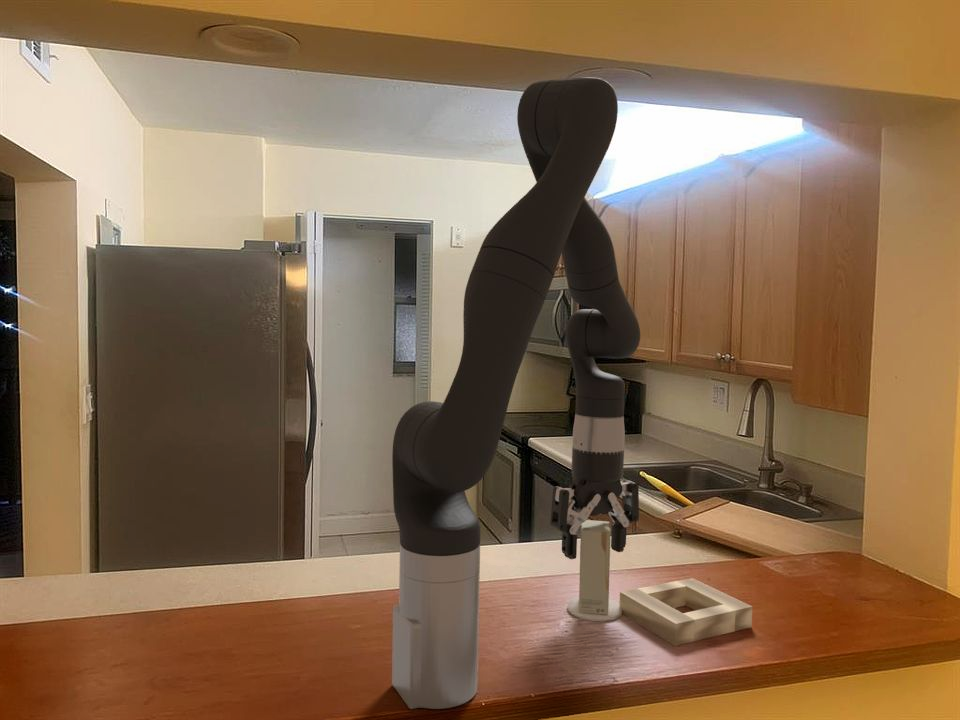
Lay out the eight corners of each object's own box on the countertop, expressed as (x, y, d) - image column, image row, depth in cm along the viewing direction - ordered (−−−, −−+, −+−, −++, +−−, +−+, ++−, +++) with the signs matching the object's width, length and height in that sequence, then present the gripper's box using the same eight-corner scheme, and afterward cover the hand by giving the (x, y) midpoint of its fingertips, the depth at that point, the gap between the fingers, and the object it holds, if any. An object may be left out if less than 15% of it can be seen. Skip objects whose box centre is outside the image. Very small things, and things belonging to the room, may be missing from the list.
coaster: (588, 625, 101) (588, 621, 101) (557, 604, 108) (557, 600, 108) (633, 615, 104) (633, 611, 104) (600, 596, 111) (600, 592, 111)
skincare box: (608, 616, 102) (611, 532, 102) (578, 613, 103) (580, 530, 102) (608, 599, 109) (610, 520, 108) (579, 596, 109) (581, 518, 109)
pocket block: (675, 645, 95) (675, 623, 95) (619, 611, 106) (619, 591, 105) (751, 627, 101) (752, 606, 101) (691, 596, 112) (692, 578, 112)
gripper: (572, 453, 98) (568, 568, 99) (653, 447, 105) (648, 555, 106) (543, 443, 105) (539, 552, 106) (621, 438, 111) (617, 541, 112)
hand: (594, 554), depth 106 cm, fingers open, 8 cm apart
